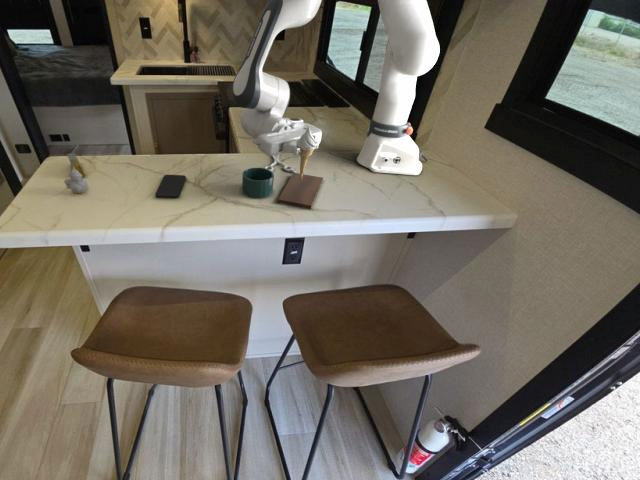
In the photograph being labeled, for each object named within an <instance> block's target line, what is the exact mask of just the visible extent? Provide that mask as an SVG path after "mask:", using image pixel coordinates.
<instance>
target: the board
mask: <svg viewBox="0 0 640 480" xmlns="http://www.w3.org/2000/svg"><path fill="white" fill-rule="evenodd" d="M323 181H324V177H323V176H316V175H311V174H310V175H309V174H304V173H303V177H302V179H301V180H300V173H297V172H296V173H293V172H292V175H291V176H290V178H289V180H288V181H287V183H286V184H285V187H284V188H283V190H282V192H281V194H280V195H279V197H278V199H277V204H282V205H286V206H291V207H297V208H302V209H307V210H311V209H312V207H313V205H314V202H315V200H316V197H317V195H318V193H319V190H320V188H321V186H322V183H323Z"/></svg>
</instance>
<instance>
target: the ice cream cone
mask: <svg viewBox="0 0 640 480" xmlns="http://www.w3.org/2000/svg"><path fill="white" fill-rule="evenodd" d="M296 143H297V146H299V147H300V148H301V152H300V154H298V155H299V158H300V161H299V174H300V180H301V179H302V177H303V174H304V173H305V169H306V166H307V162H308V160H309V157H311V156H312V155H313V153H314V151H315V150H314V149H315V148H316V144H315V143H316V142H315V140H314V138H313V135H312V133H311V130H310V127H308V129H307V130H306V132H305V133H304V134H303V135H302V136H301V137H300V139H299V140H298V141H297V142H296Z"/></svg>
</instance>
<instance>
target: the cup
mask: <svg viewBox="0 0 640 480" xmlns="http://www.w3.org/2000/svg"><path fill="white" fill-rule="evenodd" d="M274 181H275V173H274V171H270V169H269V168H267V169H265V167H250V168H247V169H245V170H243V171H242V179H241V183H242V184H241V191H242V194H243V195H244V196H246V197H248V198H251V199H266V198H269V197H270V196H271V195H272V194H273V190H274Z"/></svg>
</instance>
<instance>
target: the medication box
mask: <svg viewBox="0 0 640 480" xmlns="http://www.w3.org/2000/svg"><path fill="white" fill-rule="evenodd" d="M67 158H68V160H69V163H70V166H71V169H73V166H74V168H75V169H76V170H77V171H78V172H79V173H80V174H82V177H85V176H86V175H85V173H84V169H83V168H82V165H81V163H80V161H79V159H78V157H77V155H76V153H75V152H70V153H67Z"/></svg>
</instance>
